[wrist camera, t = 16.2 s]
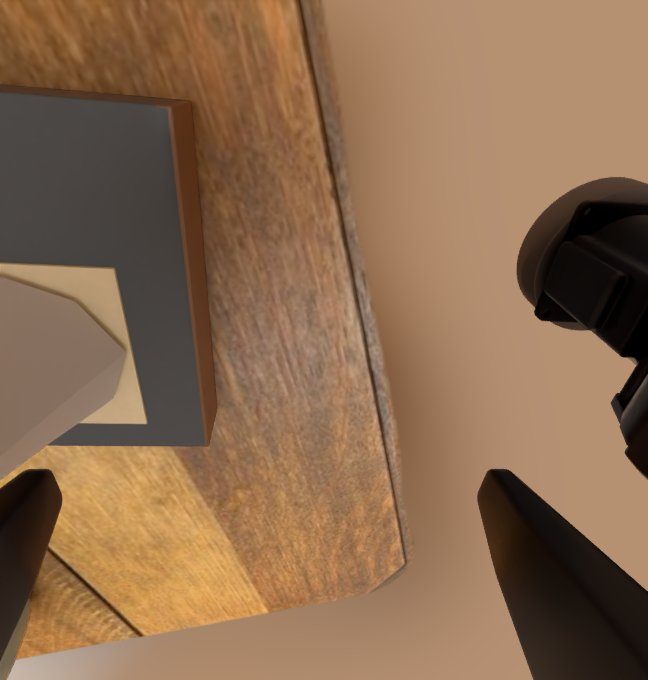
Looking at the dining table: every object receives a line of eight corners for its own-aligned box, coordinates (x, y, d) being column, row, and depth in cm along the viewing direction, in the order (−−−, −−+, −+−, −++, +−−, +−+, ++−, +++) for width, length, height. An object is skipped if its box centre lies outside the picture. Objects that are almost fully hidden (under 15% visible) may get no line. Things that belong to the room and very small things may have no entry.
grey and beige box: (191, 100, 16) (171, 106, 13) (217, 408, 24) (208, 449, 22) (-130, 73, 15) (-222, 73, 12) (16, 405, 23) (-19, 447, 21)
